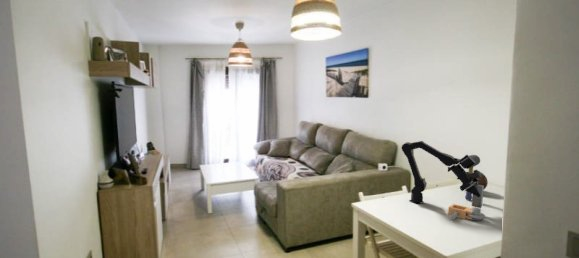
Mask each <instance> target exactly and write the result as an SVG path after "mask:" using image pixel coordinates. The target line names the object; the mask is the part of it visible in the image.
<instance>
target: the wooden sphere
mask: <svg viewBox="0 0 579 258" xmlns="http://www.w3.org/2000/svg"><path fill="white" fill-rule="evenodd" d="M476 182H478V185H483V186H484V190H485V189H486V188H487V187H488V183H489V181H488V178H487V176H486V175H485V174H484V173H483V172H481V177H480V178H479V180H478V181H476Z"/></svg>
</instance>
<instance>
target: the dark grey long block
mask: <svg viewBox="0 0 579 258" xmlns="http://www.w3.org/2000/svg"><path fill="white" fill-rule="evenodd" d="M475 189H476V190H477V192H478V193H479V195H480V197H477V196H476V195H474V194H472V199H471V207H475V208H479V209H481V208H483V200H484V199H483V198H484V190H485V189H484V186H483V185H478V184H475Z"/></svg>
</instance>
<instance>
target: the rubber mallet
mask: <svg viewBox="0 0 579 258" xmlns="http://www.w3.org/2000/svg"><path fill="white" fill-rule="evenodd" d="M469 156H470V157H471V158H472V159H473V160H474V161H475V162H476V164H474V165H473V166H471V167H470V168H468V171H467V172H469V173H473V171H474V167H476V166H478V165H479V164H481V163H480V162H481V159H480V157H479V156H478V155H476V154H471V155H469ZM472 196H473V194H472V193H470V192H468V191H465V196H464V198H465V200H466V201H472Z"/></svg>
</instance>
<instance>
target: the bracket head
mask: <svg viewBox="0 0 579 258" xmlns="http://www.w3.org/2000/svg"><path fill="white" fill-rule="evenodd" d="M447 211H448V213H447V214H448V216H449V218H450V220H452V221H454V219H456V218H460V219H462V220H463V219H464V220H466V219H467V220H468V219H469V220H472V221H475V222H476V221H477V222H478V221H479V222H480V221H481V220H485V219H486V214H484V213H482V212H481V211H482V209H481V208H478V207H474V206H471V207H468V206H464V205H461V204H455V203H452V204H451V205H449V206H448V209H447Z"/></svg>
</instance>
